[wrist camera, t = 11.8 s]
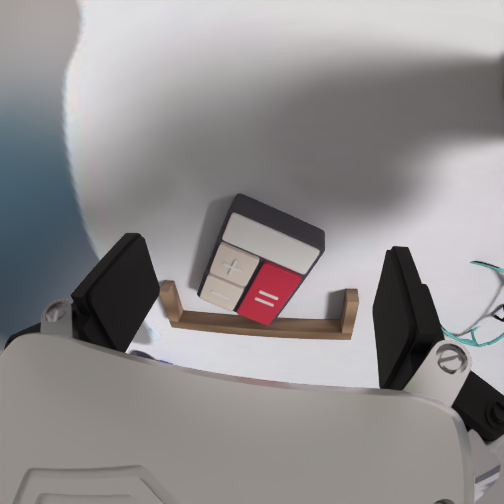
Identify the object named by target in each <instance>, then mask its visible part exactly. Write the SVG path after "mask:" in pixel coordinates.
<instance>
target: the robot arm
mask: <svg viewBox="0 0 504 504" xmlns="http://www.w3.org/2000/svg"><path fill="white" fill-rule="evenodd" d="M159 293H160V287H159V284H158V281H157V277H156V274H155V271H154V268H153V265H152V262H151V259H150V255H149V252H148V249H147V245H146V242H145V239H144V238H143V237H142V236H141V235H140V234H139V233H126V234H125V235H124V236H123V237H122V238H121V239H120V240H119V241H118V242H117V243H116V244H115V245H114V246H113V247H112V248H111V249H110V251H109V252H108V253H107V254H106V255H105V256H104V257H103V258H102V259H101V260H100V262H99V263H98V264H97V265H96V266H95V267H94V268H93V270H92V271H91V272H90V273H89V274H88V275H87V277H86V278H85V279H84V280H83V281H82V282H81V283H80V285H79V286H78V287H77V288H76V289H75V291H74V292H73V293H72V294H71V297H72V299H73V301H74V302H73V303H72V304H71V303H70V302H69V300H66V299H60V300H56V301H54V302H52V303H51V304H50V305H48V306H47V307H46V309H45V310H44V312H43V313H42V317H41V322H40V323H38V324H36V325H33V326H31V327H29V328H27V329H25V330H22V331H20V332H18V333H16V334H13V335H12V336H11V337H10V338H9V339H8V341H7V343H6V345H5V349H4V351H3V350H1V351H0V504H504V395H502V394H501V393H500V392H498V391H497V390H496V389H495V388H493V387H492V386H491V385H489V384H488V383H487V382H485V381H484V380H483V379H482V378H480V377H479V376H478V375H476V374H475V373H474V372H472V371H471V370H470V369H471V366H472V359H471V356H470V353H469V352H468V350H467V349H466V348H465V347H464V346H463V345H462V344H461V343H459V342H456V341H454V340H445V338H444V335H443V331H442V328H441V325H440V321H439V318H438V315H437V312H436V309H435V306H434V303H433V300H432V297H431V294H430V291H429V288H428V286H427V285H426V284H422V283H421V280H420V277H419V274H418V271H417V269H416V266H415V263H414V261H413V258H412V256H411V253H410V251H409V248H408V247H399V246H393V247H392V249H391V250H387V251H386V255H385V260H384V264H383V268H382V273H381V277H380V281H379V285H378V289H377V292H376V296H375V300H374V304H373V321H374V330H375V339H376V349H377V360H378V373H379V387H380V389H376V388H358V387H337V386H323V385H310V384H297V383H287V382H277V381H268V380H260V379H253V378H246V377H239V376H232V375H226V374H220V373H214V372H208V371H203V370H197V369H192V368H187V367H182V366H177V365H173V364H168V363H164V362H159V361H155V360H151V359H147V358H142V357H138V356H134V355H131V354H127V353H125V352H126V350H127V348H128V347H129V345H130V343H131V341H132V340H133V338H134V336H135V334H136V333H137V331H138V329H139V327H140V326H141V324H142V322H143V321H144V319H145V317H146V316H147V314H148V312H149V311H150V309H151V307H152V306H153V304H154V302H155V301H156V299H157V297H158V296H159ZM474 476H475V485H474Z"/></svg>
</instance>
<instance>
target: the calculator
mask: <svg viewBox="0 0 504 504" xmlns="http://www.w3.org/2000/svg"><path fill="white" fill-rule="evenodd" d="M324 251H325V233H324V231H323V230H321V229H319V228H317V227H315V226H313V225H310V224H308V223H306V222H304V221H302V220H300V219H297V218H295V217H293V216H291V215H288V214H286V213H284V212H282V211H280V210H277V209H275V208H273V207H270V206H268V205H266V204H264V203H261V202H259V201H257V200H254V199H252V198H250V197H247V196H245V195H243V194H237V195H236V197H235V199H234V201H233V203H232V205H231V206H230V208H229V211H228V213H227V216H226V218H225V221H224V223H223V226H222V228H221V231H220V234H219V236H218V239H217V241H216V244H215V247H214V249H213V252H212V255H211V257H210V260H209V263H208V265H207V268H206V271H205V273H204V276H203V279H202V282H201V284H200V287H199V290H198V293H197V295H198V296H199V297H200V298H201V299H203V300H205V301H207V302H210V303H212V304H215V305H217V306H219V307H222V308H224V309H227V310H229V311H234V312H237V314H239V315H242V316H244V317H247V318H249V319H252V320H254V321H257V322H259V323H262V324H265V325H271V324H272V323H273V322H274V321H275V319H276V318H277V317H278V315H279V314H280V313H281V311H282V310H283V309H284V307H285V306H286V305H287V303H288V302H289V300H290V299H291V298H292V296H293V295H294V294H295V292H296V291H297V289H298V288H299V287H300V285H301V284H302V282H303V281H304V280H305V278H306V277H307V275H308V274H309V273H310V271H311V270H312V268H313V267H314V265H315V264H316V263H317V261H318V260H319V258H320V257H321V255H322V254H323V253H324Z"/></svg>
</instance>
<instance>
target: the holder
mask: <svg viewBox="0 0 504 504" xmlns="http://www.w3.org/2000/svg"><path fill="white" fill-rule="evenodd" d="M159 294H160V297H161V300H162V303H163V305H164V308H165V311H166V313H167V316H168V319H169V321H170V324H171V326H172V327H174V328H181V329H189V330H198V331H207V332H216V333H227V334H238V335H250V336H263V337H279V338H299V339H330V340H351V336H352V332H353V328H354V323H355V319H356V314H357V310H358V305H359V298H358V291H357V289H346V293H345V300H344V306H343V312H342V317H341V320H322V319H293V318H276V319H275V321H274V322H273V323H272V324H271V325H265V324H262V323H259V322H257V321H254V320H252V319H249V318H247V317H244V316H241V315H228V314H216V313H204V312H194V311H184V310H183V308H182V305H181V301H180V298H179V295H178V292H177V289H176V286H175V282H174V281H167V280H165V281H164V283H163V285H162V286H161V288H160V293H159Z"/></svg>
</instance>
